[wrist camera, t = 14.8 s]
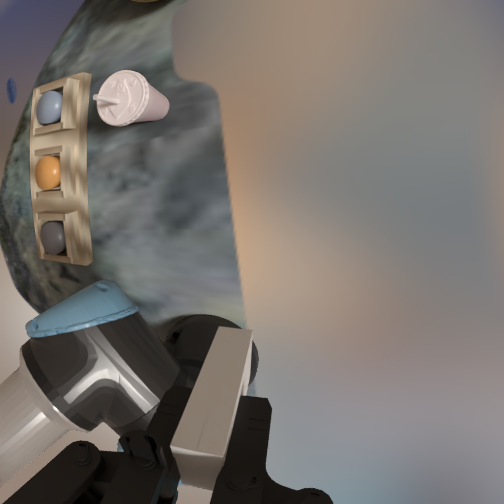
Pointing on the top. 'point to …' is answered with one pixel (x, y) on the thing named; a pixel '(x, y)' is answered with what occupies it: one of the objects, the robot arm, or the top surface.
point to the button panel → (64, 169)
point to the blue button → (49, 107)
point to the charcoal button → (53, 237)
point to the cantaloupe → (144, 0)
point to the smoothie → (129, 100)
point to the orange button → (48, 172)
